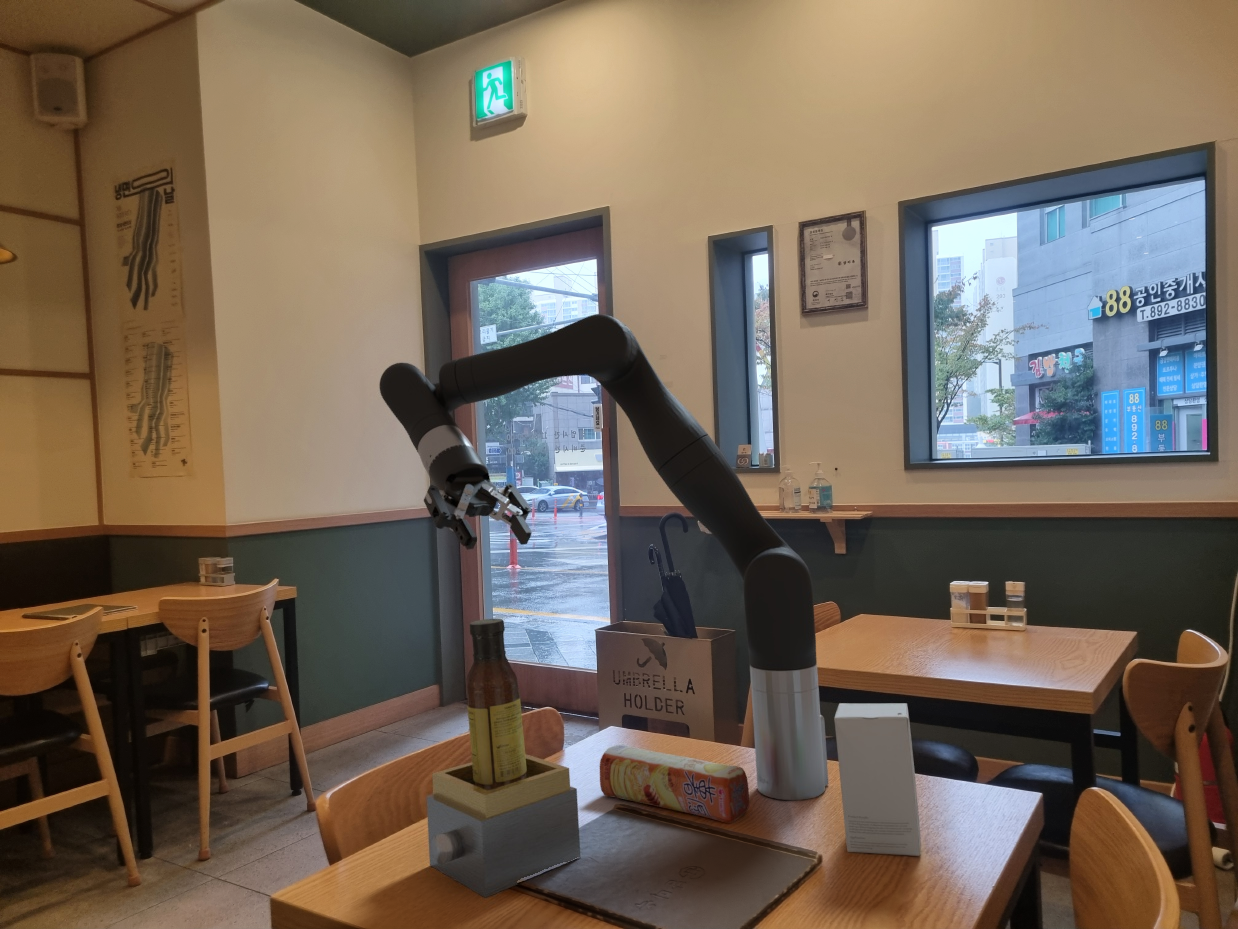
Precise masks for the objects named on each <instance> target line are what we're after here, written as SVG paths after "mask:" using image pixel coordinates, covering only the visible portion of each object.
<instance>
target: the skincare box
mask: <svg viewBox="0 0 1238 929" xmlns="http://www.w3.org/2000/svg"><path fill="white" fill-rule="evenodd" d="M833 720H834V729H835V738H836V748H837V750H836V751H837V759H838V760H837V761H838V768H839V769H838V770H839V780H840V792H841V803H842V812H843V814H842V815H843V823H844V832H845V843H846V851H847V853H862V854H863V853H864V854H879V855H880V854H881V855H895V856H896V855H898V856H899V855H900V856H910V857H911V856H913V857H914V856H915V857H920V856H921V852H922V851H921V849H922V848H921V846H922V844H921V843H922V842H921V826H920V816H919V803H918V792H917V784H916V783H917V782H916V773H915V772H916V771H915V765H914V764H915V763H914V752H913V744H912V735H911V733H912V732H911V724H910V716H909V709H908V703H904V702H903V703H897V702H896V703H893V702H891V703H886V702H885V703H848V702H847V703H845V702H844V703H841V702H839V704H838V706H837V708H836V712H835V715H834V717H833Z"/></svg>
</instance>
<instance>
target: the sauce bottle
mask: <svg viewBox="0 0 1238 929" xmlns="http://www.w3.org/2000/svg"><path fill="white" fill-rule="evenodd" d="M504 622H505V620H504V618H485V619H478V620H475V621H471V622H469V634H470V635H471V639H472V651H473V654H472V658H473V663H472V664H471V667H470V669H469V672H468V674H467V677H466V683H465V684H466V685H465V686H466V687H465V688H466V696H467V704H466V706H467V707H466V708H467V716H468V717H467V719H468V727H469V728H468V729H469V740H470V751H471V762H472V767H473V779H474V781H475V785H476V786H478V787H480V788H482V789H485V790H487V791H489V790H492V789H495V788H498V787H501V786H504V785H507V784H511V783H514V782H517V781H520V780H523V779H526V771H527V768H526V757H525V754H526V750H525V738H524V728H523V718H522V716H523V714H522V704H521V695H520V691H519V685H518V684H519V683H518V678H517V675H516V672H515V671H514V670H513V668H512V666H511V663H510V662H509V660H508V658H507V656H506V655H507V651H506V648H505V637H504V636H505V635H504V632H505V631H506V630H505V629H506V627H505V623H504Z"/></svg>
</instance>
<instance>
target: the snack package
mask: <svg viewBox="0 0 1238 929" xmlns="http://www.w3.org/2000/svg"><path fill="white" fill-rule="evenodd" d="M599 784H600V791H601V792H602V794H603V795H605V796H606V797H611V798H616V799H617V798H618V799H622V800H627V801H631V802H635V803H640V804H644V805H650V806H654V807H659V808H663V809H669V810H673V811H677V812H678V811H679V812H682V813H687V814H690V815H694V816H700V817H702V818H707V819H711V820H715V821H718V822H722V823H726V824H732V823H734V822H735V821H738V819H740V818H741V817H742V816H744V815H745V814H746V812H747V811H748V809H749V806H750V790H749V789H750V788H749V782H748V776H747V773H746V771H745V770H744V768H743V767H740V766H737V765H730V764H729V765H728V764H723V763H717V762H711V761H706V760H702V759H697V758H692V757H687V756H681V755H676V754H675V755H674V754H668V753H664V752H659V751H652V750H648V749H644V748H638V747H634V746H631V745H630V746H629V745H625V744H617V745H613V746H611V747H608V748H607V749H606V750H605V751H604V753H603V754H602V756H601V758H600V761H599Z"/></svg>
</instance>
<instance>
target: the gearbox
mask: <svg viewBox="0 0 1238 929" xmlns="http://www.w3.org/2000/svg"><path fill="white" fill-rule="evenodd" d="M525 757H526V768H527V771H526V779H523V780H520V781H517V782H514V783H511V784H507V785H504V786H501V787H498V788H495V789H492V790H489V791H487V790H485V789H482V788H480V787H478V786H476V785H475V781H474V779H473V767H472V761H471V762H467V763H464V764H459V765H456V766H454V767H450V768H446V769H443V770H440V771H436V772H433V773H432V774H431V775H432V791H433V792H432V794H430V795H427V796H426V809H427V811H426V813H427V830H428V831H427V833H428V852H429V866H430V867H432V868H433V869H435V870H437V871H439V872H440V873H443V875H446V876H447V877H448V878H451V879H452V880H454V881H456V882H458V883H459V884H461V885H463V886H464V887H466V888H468V889H470V891H473V892H475V893H476V894H478V895H480V896H482V897H483V898H488V897H491V896H493V895H496V894H497V893H500V892H503V891H505V890H508V889H510V888H512V887H514V886H517V885H518V884H517V881H518V880H520V879H521V878H524V877H527V876H530V875H533V874H535V873H538V872H540V871H542V870H544V869H548V868H549V867H552V866H554V865H557V864H560V863H563V862H568V861H571V860H573V859H575V858H577V857H580V858H581V846H580V845H581V842H580V826H579V824H580V823H579V808H578V789H577V788H576V787H573V786H572V785H571V778H570V777H571V776H570V768H569V767H567V766H564V765H560V764H558V763H554V762H552V761H548V760H545V759H542V758H540V757H537V756H533V755H529V754H527V753H525Z"/></svg>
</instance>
